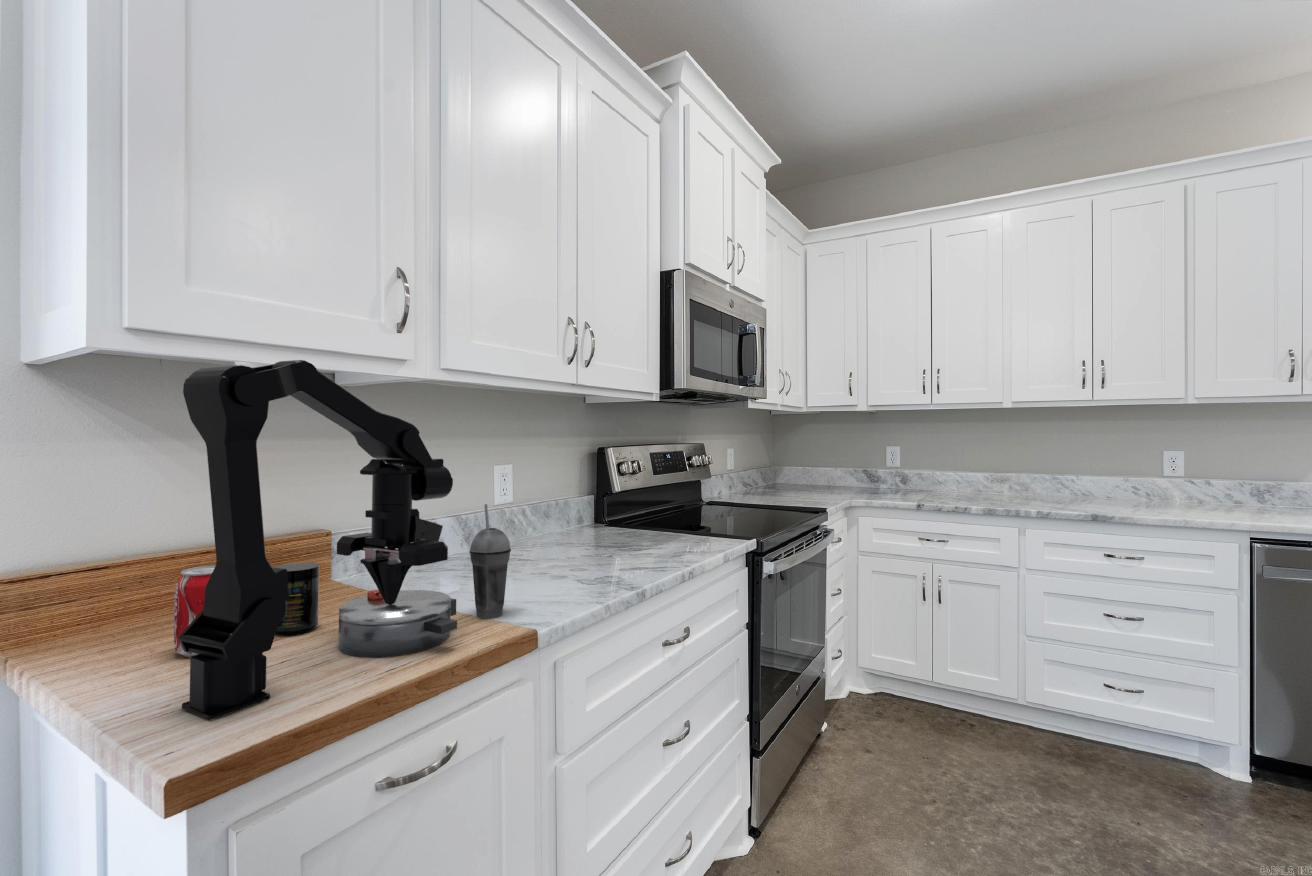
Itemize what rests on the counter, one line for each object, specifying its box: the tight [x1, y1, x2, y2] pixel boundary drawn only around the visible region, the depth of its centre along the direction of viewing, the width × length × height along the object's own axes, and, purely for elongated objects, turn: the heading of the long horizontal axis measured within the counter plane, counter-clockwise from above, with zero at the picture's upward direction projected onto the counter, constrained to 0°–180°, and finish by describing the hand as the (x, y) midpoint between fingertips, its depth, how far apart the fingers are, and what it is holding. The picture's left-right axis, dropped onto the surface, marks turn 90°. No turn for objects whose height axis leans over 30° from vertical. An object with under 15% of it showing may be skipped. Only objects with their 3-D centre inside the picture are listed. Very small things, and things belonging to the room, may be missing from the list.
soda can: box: [173, 564, 232, 658], centre depth 86 cm, size 7×7×12 cm
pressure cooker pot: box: [338, 597, 458, 659], centre depth 93 cm, size 18×23×4 cm
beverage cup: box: [468, 503, 512, 620], centre depth 106 cm, size 7×7×20 cm
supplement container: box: [274, 562, 321, 637], centre depth 96 cm, size 7×7×10 cm
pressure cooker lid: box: [338, 589, 452, 625], centre depth 92 cm, size 16×16×2 cm
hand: (390, 603), depth 91 cm, fingers closed
